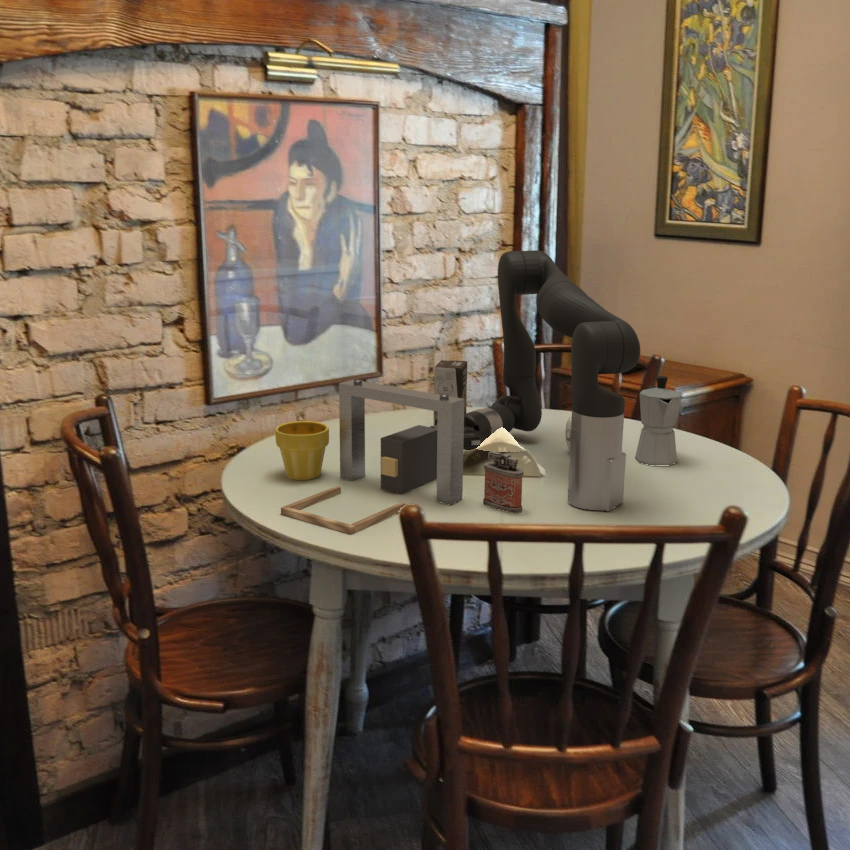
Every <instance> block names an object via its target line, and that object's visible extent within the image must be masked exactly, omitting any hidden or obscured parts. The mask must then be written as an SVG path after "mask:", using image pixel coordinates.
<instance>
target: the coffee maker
mask: <svg viewBox="0 0 850 850" xmlns="http://www.w3.org/2000/svg"><path fill="white" fill-rule="evenodd" d="M668 378H669V377H668V376H664V375H657V376H656V386H655V385H649V386H648V388H647V389H642V390H641V391H640V392H639V406H640V421H641V424H642V425H643V426H642V428H641V430H640V435H639V439H638V442H637V443H638V444H637V448H636V452H635V456H634V459H635V460H636V462H637V461H638V462H639V463H638V462H637V463H638V464H641V463H643V464H642V465H645V464H648V465H647V466H649V465H671V464H673V463H676V462H677V463H678V457H677V456H678V455H677V445H676V444H677V443H676V435H675V434H676V433H675V431H674V427H675V425H676V423H677V420H678V416H679V411H680V406H681V403H682V402H681V401H682V397H683V393H682V392H678V391H676V390H672V389H670V388H666V387H667V383H668ZM677 463H676V464H677ZM671 466H672V465H671Z"/></svg>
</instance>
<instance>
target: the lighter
mask: <svg viewBox="0 0 850 850" xmlns="http://www.w3.org/2000/svg"><path fill="white" fill-rule="evenodd" d="M487 454H488V455H487V459H489V460H492V461H488V462H485V463H484V464H483V469H484V490H483V491H484V495H483V496H484V497H483V499H482V504H483V505H484V506H486V505H487V507H488V506H490V507H489V508H491V507H493V508H492V509H494V508H496V509H495V510H497V509H500V510H499V511H501V510H504V511H503V512H505V511H508V512H507V513H510V512H513V513H512V514H520V513H522V512H523V505H522V498H523V497H522V496H523V495H522V494H523V493H522V492H523V476H524V473H525V472H524V469H522V468H519V467H518V462H519V461H518V460H519V459H518V457H513V456H512V455H511V454H510V453H509V452H508V453H504V454H503V453H501V452H497V451H493V450H490V451H489V452H487ZM519 512H520V513H519Z"/></svg>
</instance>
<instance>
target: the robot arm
mask: <svg viewBox="0 0 850 850" xmlns="http://www.w3.org/2000/svg"><path fill="white" fill-rule="evenodd" d="M497 287H498V289H497V290H498V297H499V298H498V299H499V300H498V301H499V310H500V319H501V320H500V321H501V328H502V336H503V337H502V339H503V368H502V369H503V370H502V371H503V372H502V373H503V374H502V376H503V377H502V381H503V384H504V386H505V387H507V388H509V389H510V390H511V391H513V392H515V393H516V394H517V395H518V396H513V395H503V396H500V397H498V399H496V400H495V402H493V404H491V405H490V406H486V407H484V408H479V409H475V410H472V411H469V412H466V414H464V444H463V451H472V450H473V451H474V450H475V449H476V448H477V447H478V446H480V444H481V443H482V442H483V441H484V440H485V439H486V438H488V437H489V436H490V435H491V434H492V433H494V432H495V431H496V430H497V429H499V428H501V427H503V428H505V429H506V430H507V431H508V432H509V433H511V431H512V430H513V429H514V430H519V431H524V432H532V431H534V430H536V429H537V428H538V427H539V425H540V424H541V420H542V417H543V416H542V415H543V410H542V409H543V408H542V403H541V401H540V400H541V399H540V395H539V391H538V387H537V383H536V382H537V381H536V365H537V363H536V360H537V352H536V348H535V343H534V340H533V339H532V337H531V336H530V333H529V332H528V330H527V328H526V327H525V325H524V323H523V321H522V320H521V317H520V316H519V312H518V309H517V296H520V295H521V296H522V295H523V296H524V295H537V296H536V297H537V298H536V309H537V312H538V313H539V316H540V317H541V318H542V320H543V321H544V322H545V323H546V324H548V325H549V327H550V328H551V329H553V330H554V331H555V332H557V333H559V334H561V335H562V336H565V337H568V338H571V349H570V351H571V352H570V354H571V355H570V356H571V357H570V358H571V385H570V389H571V390H570V391H571V392H570V393H571V399H572V402H571V403H572V405H571V407H572V408H571V417H572V422H571V441H570V452H569V460H568V461H569V463H568V466H569V467H568V486H567V503H568V504H570V505H571V506H573V507H575V508H579V509H583V510H587V509H588V510H587V511H604V510H606V511H605V512H610V511H612V510H613V508H614V507H615V508H617V507H618V506H620V505H621V504H620V503H622V502H623V503H624V489H625V476H626V459H627V454H626V452H623V435H624V421H625V420H624V419H625V409H626V401H625V397H624V396H623V395H621V394H620V393H618V392H615V391H612V390H609V389H606V388H604V387H602V386H600V385H599V375H613V374H621V373H627V372H629V371H630V370H632V369H634V368H635V367H636V365H638V362H639V360H640V357H641V344H640V340H639V337H638V335H637V333H636V331H635V329H634V328H633V326H632V325H631V324H629V323H628V322H627V321H625V320H624V319H622V318H620V317H619V316H616V315H615V314H613V313H611V312H610V311H608V310H607V309H605V308H604V307H603V306H601V305H600V304H599V303H597V302H596V301H595V300H594V299H593V298H591V297H590V296H589V295H588V294H587V293H586V292H585V291H584V290H583V289H582V288H581V287H579V286H578V285H577V284H576V283H574V282H573V281H572V280H570V279H569V278H568V276H567V275H565V273H563V271H562V270H561V269H560V268H559V267H558V265H557V264H556V263H555V262H554V260H553V259H552V257H551V256H550V255H549V254H547V252H544V251H542V250H535V249H534V250H533V249H532V250H514V251H512V250H511V251H506V252H504V253H502V254H501V256H500V258H499V260H498V265H497ZM429 427H431V428H435V427H434V426H433V425H431V426H429ZM436 429H437V428H436ZM476 450H477V449H476ZM623 503H622V504H623ZM619 504H620V505H619ZM617 505H618V506H617ZM616 506H617V507H616ZM615 508H614V509H615ZM611 509H612V510H611ZM609 510H610V511H609Z"/></svg>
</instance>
